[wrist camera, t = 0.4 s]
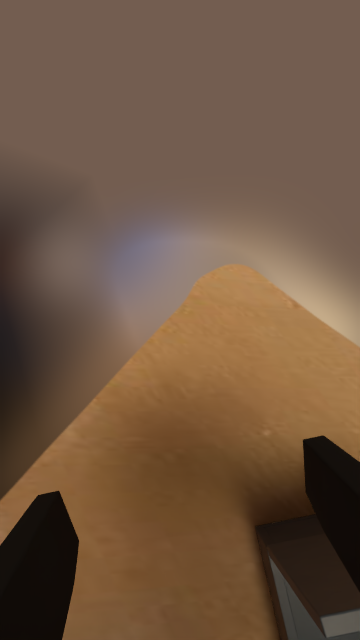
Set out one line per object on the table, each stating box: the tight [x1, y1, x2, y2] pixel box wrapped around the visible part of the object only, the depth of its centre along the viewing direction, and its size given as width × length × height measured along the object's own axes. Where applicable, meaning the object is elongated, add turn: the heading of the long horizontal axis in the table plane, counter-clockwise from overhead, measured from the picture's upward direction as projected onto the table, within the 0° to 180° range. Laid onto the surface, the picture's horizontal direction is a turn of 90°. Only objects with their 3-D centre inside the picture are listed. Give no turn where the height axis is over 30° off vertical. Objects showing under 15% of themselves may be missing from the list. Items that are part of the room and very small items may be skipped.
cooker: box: [255, 514, 360, 640], centre depth 27 cm, size 13×12×6 cm
